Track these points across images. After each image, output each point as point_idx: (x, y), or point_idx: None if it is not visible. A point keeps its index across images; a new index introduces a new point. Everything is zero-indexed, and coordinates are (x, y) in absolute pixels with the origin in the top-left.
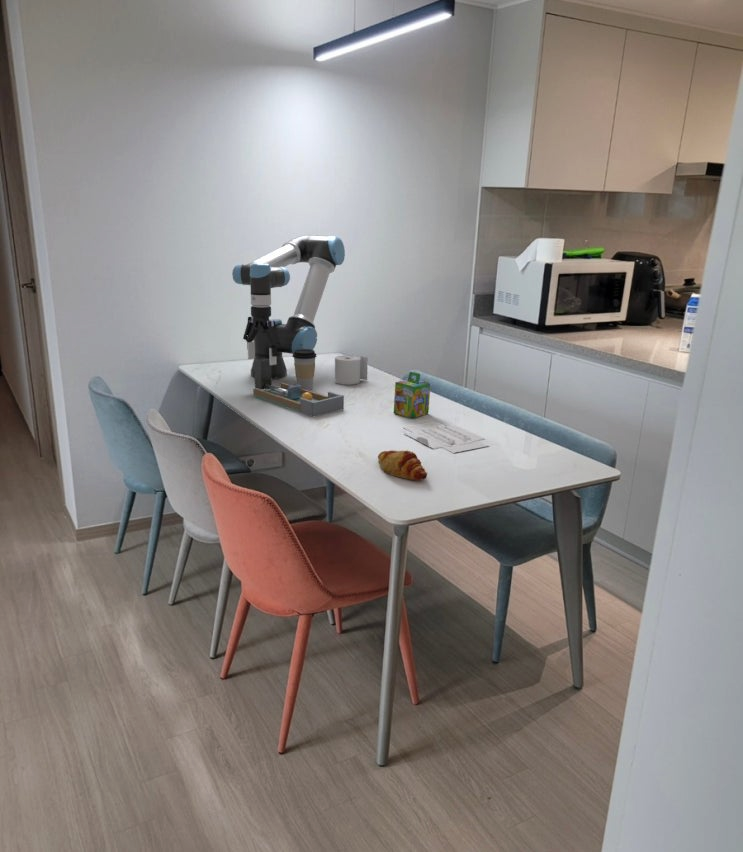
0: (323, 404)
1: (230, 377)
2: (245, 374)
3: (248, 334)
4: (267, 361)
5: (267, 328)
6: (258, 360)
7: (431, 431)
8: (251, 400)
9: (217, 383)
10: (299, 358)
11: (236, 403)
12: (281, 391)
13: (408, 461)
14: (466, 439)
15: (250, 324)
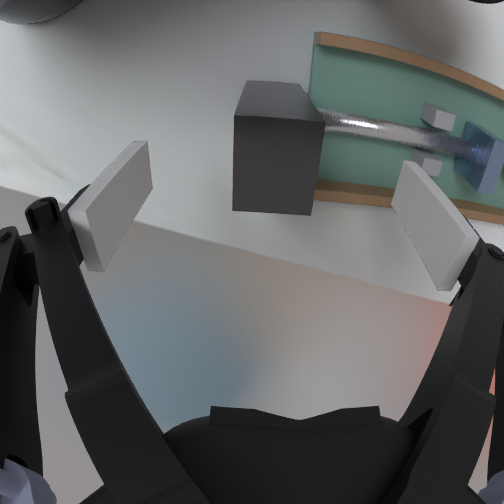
0: None
1: (12, 99)
2: (4, 34)
3: (23, 299)
4: (319, 153)
5: (420, 441)
6: (269, 200)
7: None
8: (332, 219)
9: (59, 173)
10: (487, 3)
11: (318, 266)
12: (436, 173)
13: None
14: None
15: (28, 444)
